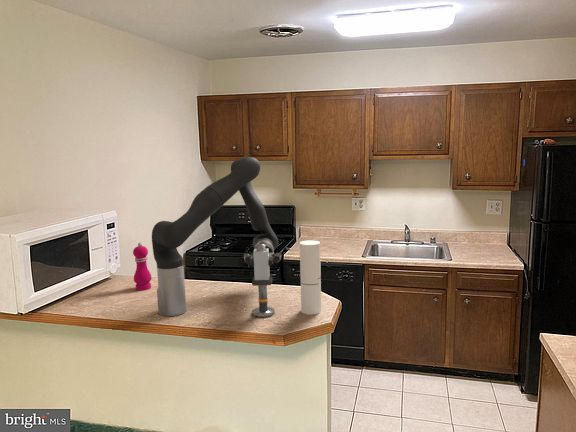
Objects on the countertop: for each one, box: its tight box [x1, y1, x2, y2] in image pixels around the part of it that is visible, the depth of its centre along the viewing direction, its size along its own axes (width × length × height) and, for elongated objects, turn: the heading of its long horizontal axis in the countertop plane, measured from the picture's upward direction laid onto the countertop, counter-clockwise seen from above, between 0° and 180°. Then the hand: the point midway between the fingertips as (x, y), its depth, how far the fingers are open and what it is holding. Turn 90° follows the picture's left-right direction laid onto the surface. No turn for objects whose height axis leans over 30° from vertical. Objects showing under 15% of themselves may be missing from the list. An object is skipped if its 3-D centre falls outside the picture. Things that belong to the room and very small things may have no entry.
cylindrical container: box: [299, 239, 322, 316], centre depth 159 cm, size 7×7×25 cm
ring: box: [251, 275, 274, 287], centre depth 158 cm, size 7×7×2 cm
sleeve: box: [252, 248, 271, 280], centre depth 157 cm, size 5×5×10 cm
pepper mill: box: [132, 242, 152, 291], centre depth 191 cm, size 7×7×20 cm
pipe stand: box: [251, 244, 276, 319], centre depth 158 cm, size 8×8×25 cm
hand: (261, 263), depth 154 cm, fingers closed on sleeve, 5 cm apart
